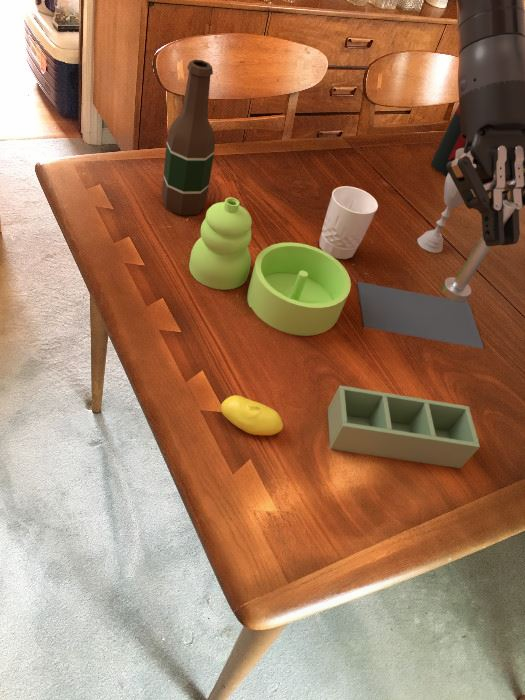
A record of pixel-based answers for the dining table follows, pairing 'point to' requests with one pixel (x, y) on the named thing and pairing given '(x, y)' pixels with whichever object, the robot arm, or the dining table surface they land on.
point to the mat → (417, 315)
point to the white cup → (346, 221)
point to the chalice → (443, 214)
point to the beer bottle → (190, 147)
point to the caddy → (401, 427)
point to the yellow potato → (251, 416)
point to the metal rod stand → (472, 264)
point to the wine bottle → (449, 144)
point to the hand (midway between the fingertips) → (502, 244)
